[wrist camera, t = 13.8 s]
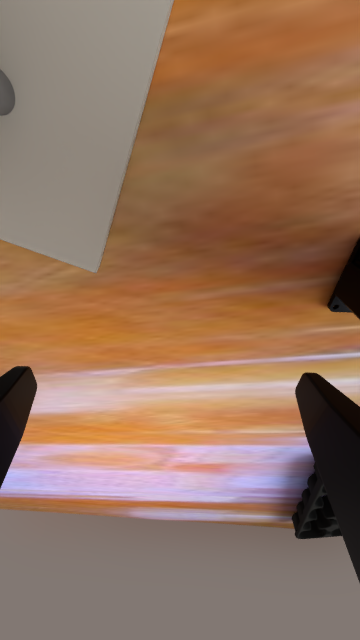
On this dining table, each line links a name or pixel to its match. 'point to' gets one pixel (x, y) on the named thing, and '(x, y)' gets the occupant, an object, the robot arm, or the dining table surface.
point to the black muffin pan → (315, 512)
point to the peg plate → (71, 117)
